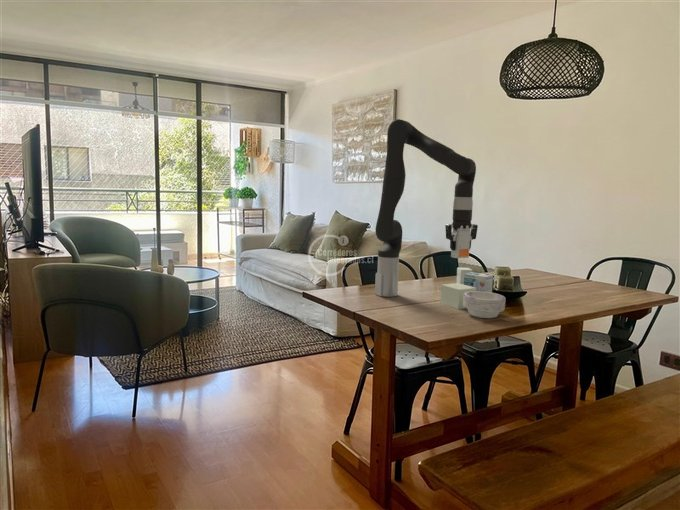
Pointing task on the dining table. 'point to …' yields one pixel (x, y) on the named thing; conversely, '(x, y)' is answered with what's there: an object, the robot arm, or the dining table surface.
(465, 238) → the skincare box
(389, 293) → the robot arm
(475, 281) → the light bulb box
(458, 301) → the sage block
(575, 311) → the dining table surface
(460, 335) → the dining table surface
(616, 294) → the dining table surface
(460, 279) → the small box
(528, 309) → the dining table surface
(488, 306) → the paper bowls
